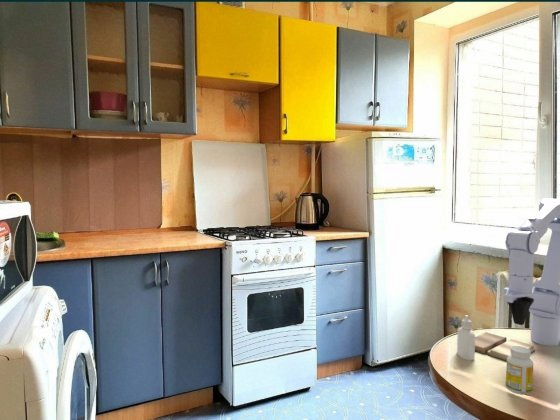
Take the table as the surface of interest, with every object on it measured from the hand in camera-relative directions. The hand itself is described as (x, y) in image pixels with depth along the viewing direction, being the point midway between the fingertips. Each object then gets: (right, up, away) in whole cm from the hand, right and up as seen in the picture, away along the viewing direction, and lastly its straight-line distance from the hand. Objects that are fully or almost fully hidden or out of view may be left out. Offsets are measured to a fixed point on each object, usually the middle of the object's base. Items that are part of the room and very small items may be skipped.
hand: (518, 323), depth 115 cm
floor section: (-3, -9, +5) cm, 11 cm away
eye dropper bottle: (-15, -10, -1) cm, 18 cm away
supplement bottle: (-10, -11, -18) cm, 23 cm away
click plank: (-1, -9, +2) cm, 9 cm away
